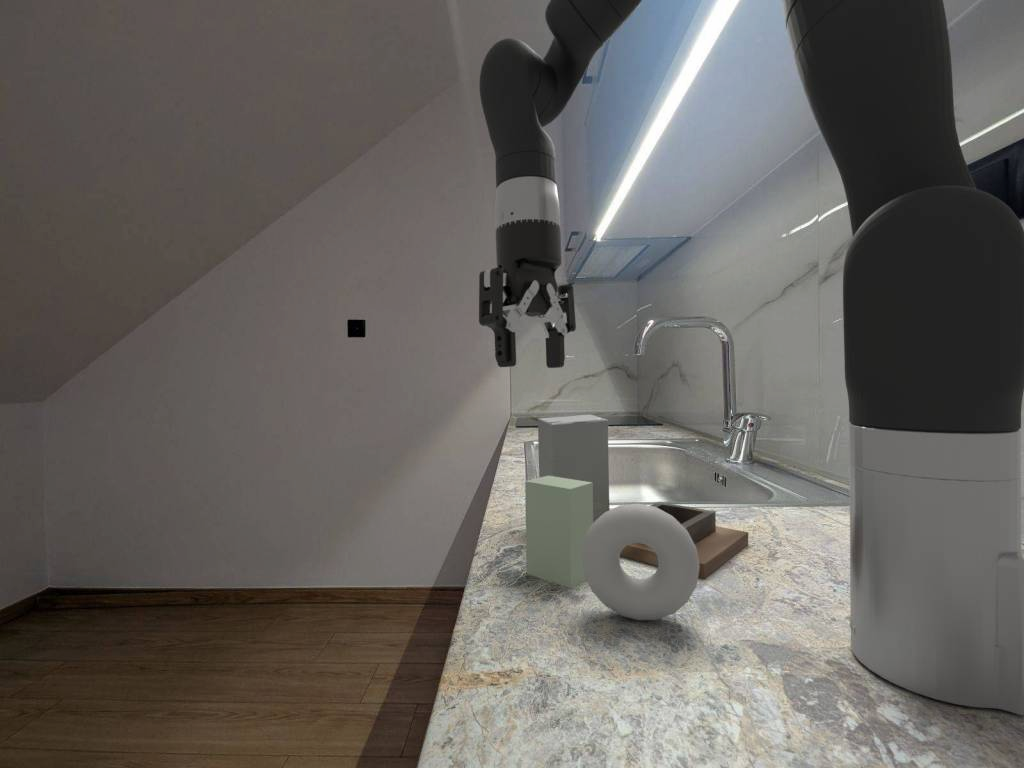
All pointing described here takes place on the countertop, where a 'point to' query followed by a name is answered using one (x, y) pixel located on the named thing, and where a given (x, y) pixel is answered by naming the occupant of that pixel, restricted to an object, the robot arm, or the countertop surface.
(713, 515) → the keyed socket board
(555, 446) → the skincare box
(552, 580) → the keyed peg
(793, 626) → the countertop surface
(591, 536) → the donut
